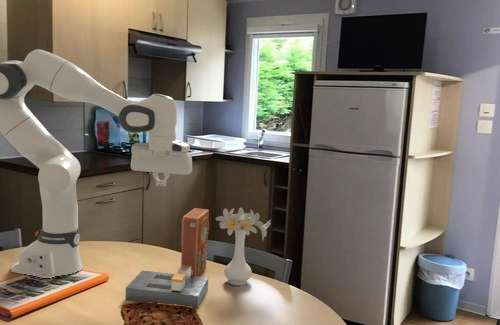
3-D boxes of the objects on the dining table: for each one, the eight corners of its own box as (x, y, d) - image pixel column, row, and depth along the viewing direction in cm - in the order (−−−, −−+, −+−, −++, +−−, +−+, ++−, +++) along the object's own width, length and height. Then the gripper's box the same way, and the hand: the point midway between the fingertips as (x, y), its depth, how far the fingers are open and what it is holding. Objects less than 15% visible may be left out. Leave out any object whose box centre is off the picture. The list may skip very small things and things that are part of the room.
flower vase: (266, 291, 152) (272, 216, 148) (210, 287, 152) (214, 213, 148) (266, 276, 165) (271, 207, 161) (214, 272, 165) (218, 203, 161)
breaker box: (125, 300, 139) (125, 275, 138) (142, 282, 153) (142, 259, 152) (197, 308, 137) (198, 283, 136) (207, 289, 151) (208, 266, 149)
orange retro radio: (209, 265, 171) (196, 281, 156) (190, 263, 172) (176, 278, 158) (212, 208, 168) (199, 219, 153) (193, 206, 169) (178, 217, 154)
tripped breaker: (171, 290, 138) (171, 278, 138) (175, 284, 143) (175, 273, 142) (181, 291, 138) (181, 279, 138) (185, 285, 142) (185, 274, 142)
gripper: (128, 143, 151) (127, 184, 153) (189, 147, 149) (187, 190, 151) (135, 141, 157) (134, 181, 159) (194, 145, 155) (192, 186, 157)
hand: (160, 185), depth 155 cm, fingers closed
